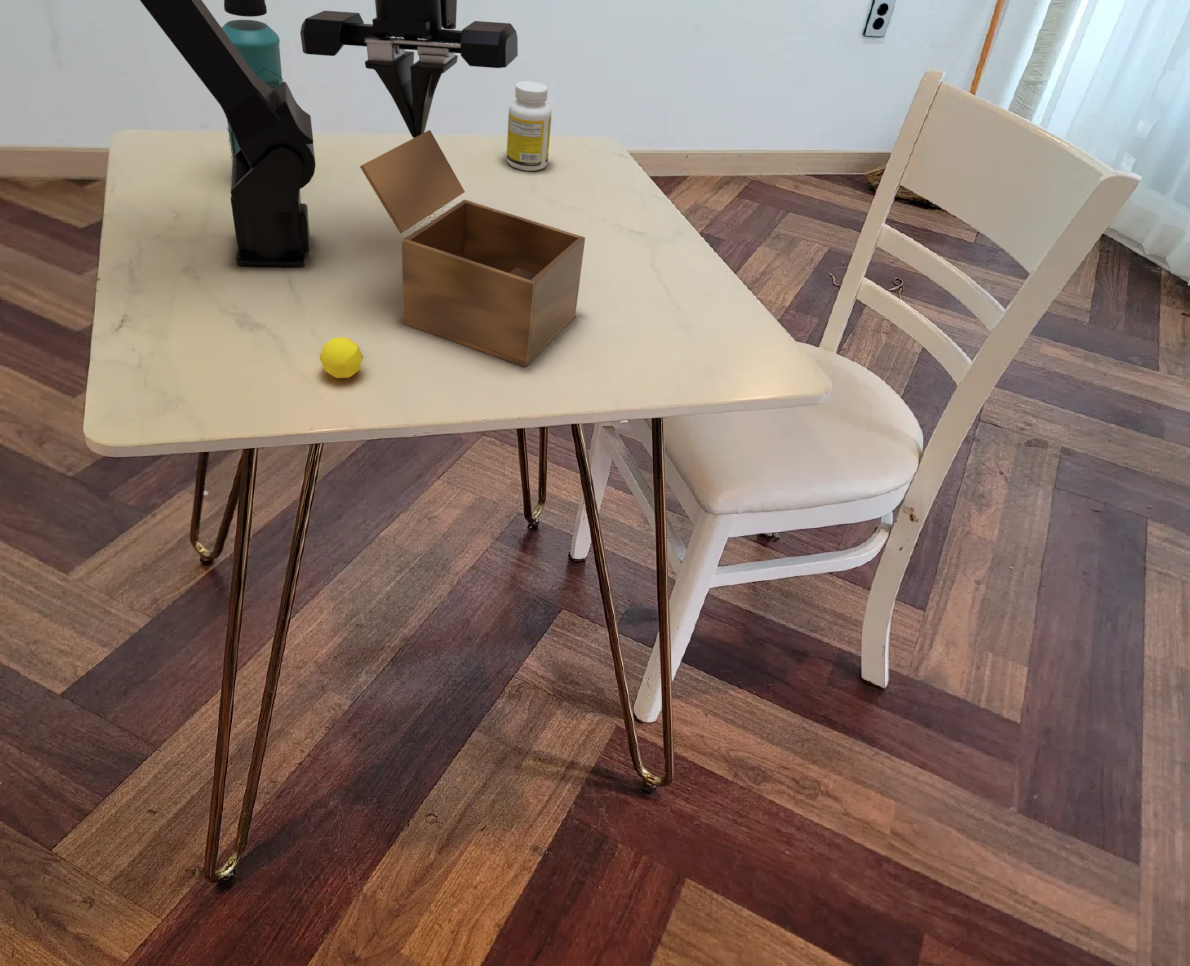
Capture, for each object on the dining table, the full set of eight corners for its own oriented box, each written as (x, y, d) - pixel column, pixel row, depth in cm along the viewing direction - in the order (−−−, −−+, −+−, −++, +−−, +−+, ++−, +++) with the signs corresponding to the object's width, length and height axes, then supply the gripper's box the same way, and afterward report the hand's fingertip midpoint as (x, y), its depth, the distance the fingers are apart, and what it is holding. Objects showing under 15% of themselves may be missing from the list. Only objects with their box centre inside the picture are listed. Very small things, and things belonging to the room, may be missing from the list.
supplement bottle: (524, 152, 121) (530, 76, 114) (555, 165, 119) (563, 88, 112) (497, 161, 117) (501, 83, 111) (528, 175, 115) (534, 96, 109)
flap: (403, 232, 79) (400, 233, 79) (465, 191, 87) (462, 193, 87) (362, 164, 77) (359, 166, 77) (430, 129, 85) (427, 131, 85)
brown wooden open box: (403, 323, 85) (401, 240, 80) (461, 277, 93) (464, 199, 88) (525, 367, 82) (533, 283, 77) (575, 316, 90) (585, 237, 85)
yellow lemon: (330, 389, 76) (313, 351, 74) (329, 367, 81) (314, 331, 79) (369, 376, 76) (353, 337, 74) (366, 355, 81) (351, 319, 80)
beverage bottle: (221, 177, 104) (193, -16, 91) (266, 162, 108) (245, -23, 95) (262, 195, 101) (239, 0, 89) (306, 179, 106) (290, -8, 93)
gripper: (529, -54, 83) (529, 122, 92) (334, -66, 85) (354, 108, 94) (502, -40, 74) (506, 154, 83) (285, -53, 76) (312, 138, 85)
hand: (418, 137), depth 87 cm, fingers closed
